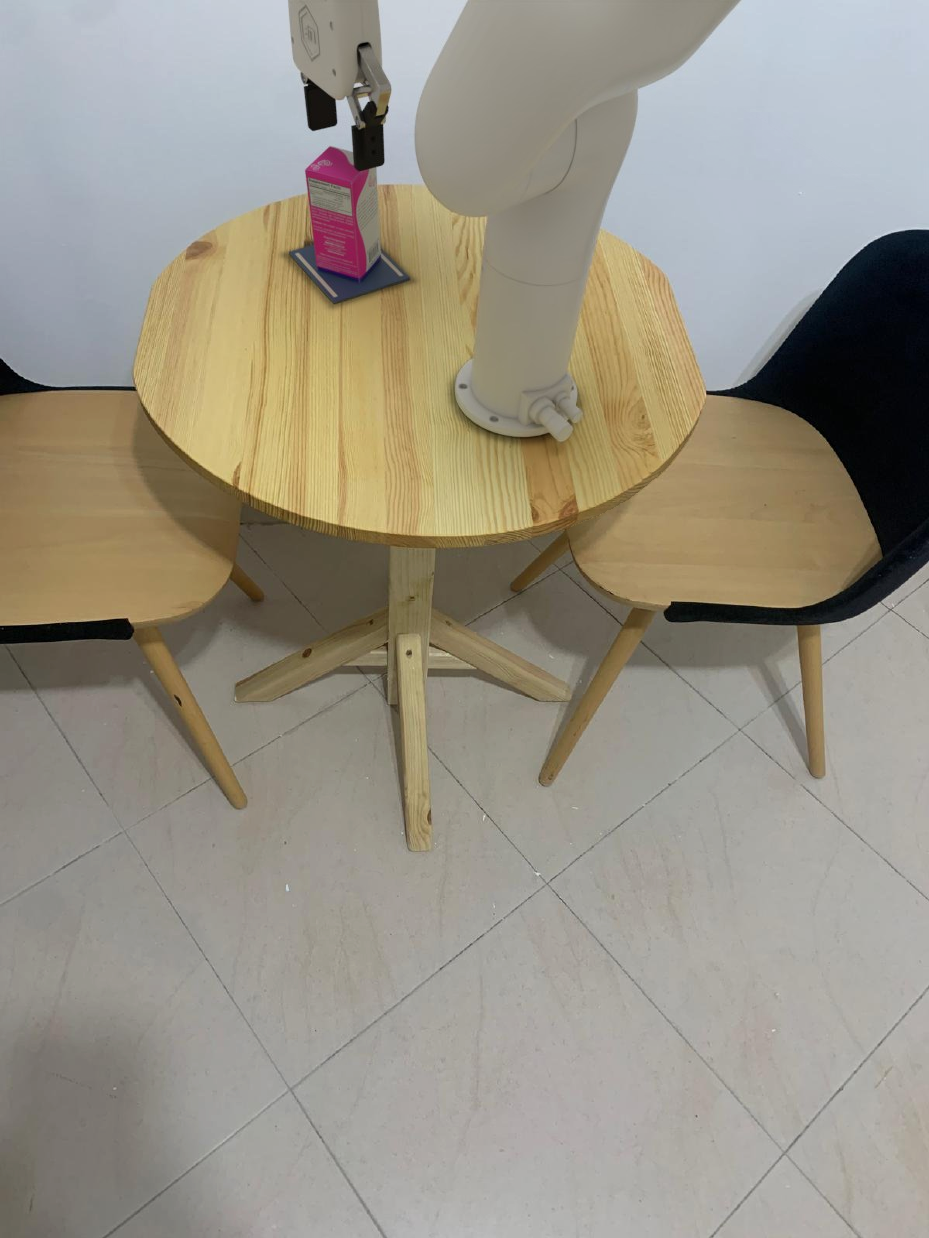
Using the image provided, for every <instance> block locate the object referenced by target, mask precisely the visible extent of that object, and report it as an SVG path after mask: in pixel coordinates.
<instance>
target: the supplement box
mask: <svg viewBox="0 0 929 1238" xmlns="http://www.w3.org/2000/svg"><path fill="white" fill-rule="evenodd" d="M377 172H378V171H377V167H375V168H371V169H368V170H364V171H357V170H356V169H355V168H354V160H353V151H350V150H347V149H344V148H341V147H336V146H332V145H329V146H328V147H327V148H326V149H325V150H324V151H323V152H322V153H321V154H320V155H318V156H317V158H316V159H315V160H313V161H312V163H310V164H309V165H308V166H306V168H305V169H304V174H305V181H306V191H307V197H308V207H309V212H310V223H311V230H312V238H313V245H314V247H315V255H316V263H317V269H318V270H321V271H324V272H327V273H330V274H334V275H337V276H340V277H343V278H346V279H349V280H353V281H355V282H358V283H360V282H361V281H362V280H363V279H364V278H365V277H366V276H367V274H368V273H369V272H370V271H371V270H372V269H373V267H374V266H375V265H376V264H377V263H378V261H379V260H380V259H381V249H382V248H381V233H380V211H379V210H380V209H379V192H378V191H379V190H378V189H379V188H378V175H377Z"/></svg>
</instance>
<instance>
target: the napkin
mask: <svg viewBox="0 0 929 1238" xmlns="http://www.w3.org/2000/svg"><path fill="white" fill-rule="evenodd" d="M288 255H289V256H290V257H291V258H292V260H293V261H295V263H296V264H297V265H298V267H300V268H301V269H302V270H303V271H304V273H305V274H306V275H307V276H308V277H309V279H311V281H312V282H313V283H314V284H315V285H316V286H317V287H318V288H319V289H320V291H321V292H322V293H323V294H324V296H326V298H328V299H329V301H330V302H331V303H332V304H333V305H335V304H338V303H342V302H345V301H348V300H351V299H355V298H358V297H361V296H364V295H367V294H371V293H373V292H376V291H379V290H383V289H386V288H389V287H391V286H394V285H398V284H401V283H404V282H407V281H410V280H411V276H409V275H408V274H407V273H406V272H405V271H404V270H403V269H402V268H401V267H400V266H399V265H398V264H397V263H396V262H395V261H394V260H393V258H391V257H390V255H388V254H387V253H386V252H385V250H383V249H382V248H381V259H380V260H379V261H378V263H377V264H376V265H375V266H374V267H373V269H372V270H371V271H370V272H369V273H368V274H367V276H366V277H365V278H364V279H363V280H362V281H361V282H360V283H358V282H355V281H353V280H349V279H346V278H343V277H340V276H337V275H334V274H330V273H327V272H324V271H321V270H318V269H317V263H316V255H315V247H314V244H311V245H307V246H304V247H301V248H296V249H294V250H290V251H288Z"/></svg>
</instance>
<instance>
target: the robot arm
mask: <svg viewBox="0 0 929 1238" xmlns="http://www.w3.org/2000/svg"><path fill="white" fill-rule="evenodd" d="M741 1H742V0H467V1H466V3H465V4H464V7H463V9H462V10H461V13H460V15H459V16H458V19H457V20H456V22H455V24H454V26H453V28H452V30H451V32H450V33H449V35H448V37H447V39H446V41H445V43H444V45H443V46H442V49H441V51H440V53H439V55H438V57H437V59H436V60H435V62H434V65H433V66H432V68H431V70H430V72H429V74H428V77H427V78H426V81H425V83H424V86H423V88H422V90H421V93H420V97H419V101H418V103H417V110H416V114H415V119H414V120H415V121H414V123H415V124H414V133H413V134H414V137H413V138H414V150H415V157H416V163H417V167H418V170H419V173H420V176H421V178H422V181H423V183H424V185H425V186H426V188H427V190H428V191H429V193H430V194H431V196H432V197H433V198H434V199H435V200H436V201H437V202H438V203H439V204H440V205H441V206H443V208H445V209H447V210H449V211H450V212H452V213H454V214H457V215H460V216H462V217H466V218H485V217H487V218H486V223H485V228H484V237H483V245H482V254H481V264H480V275H479V286H478V296H477V297H478V298H477V310H476V319H475V320H476V321H475V330H474V341H473V351H472V357H471V358H470V359H469V360H467V361H466V362H465V363H464V364H463V365H462V366H461V367H460V369H459V371H458V372H457V374H456V377H455V381H454V382H455V383H454V396H455V400H456V402H457V405H458V407H459V408H460V410H461V411H462V412H463V414H464V415H465V416H466V417H467V418H468V419H470V421H471V422H473V423H474V424H476V425H477V426H479V427H481V428H483V429H485V430H487V431H490V432H492V433H495V434H499V435H502V436H506V437H514V438H515V437H516V438H530V437H536V436H537V437H538V436H541V435H545V434H549V435H551V436H552V437H553V438H554V439H555V440H556V441H557V442H559V443H562V442H565V441H566V440H568V439H569V438H570V437H571V435H572V434H573V431H574V427H573V425H571V424H570V422H569V421H571V422H572V423H573V424H578V423H579V422H581V420H582V419H583V417H584V412H583V411H582V410H581V408H580V407H578V406H577V402H578V387H577V384H576V381H575V380H574V378H573V376H572V375H571V373H569V366H570V363H571V358H572V353H573V349H574V345H575V339H576V336H577V331H578V327H579V326H578V325H579V322H580V316H581V312H582V308H583V303H584V298H585V293H586V289H587V285H588V281H589V276H590V271H591V267H592V264H593V261H594V260H593V259H594V257H595V252H596V251H595V250H596V246H597V242H598V237H599V234H600V229H601V225H602V223H603V219H604V215H605V211H606V208H607V205H608V201H609V199H610V197H611V194H612V191H613V189H614V186H615V183H616V180H617V178H618V176H619V174H620V171H621V169H622V166H623V164H624V161H625V159H626V156H627V154H628V151H629V148H630V145H631V141H632V139H633V134H634V131H635V126H636V121H637V116H638V108H639V89H642V88H645V87H647V86H649V85H652V84H654V83H656V82H659V81H660V80H663V79H665V78H666V77H668V76H671V74H673V73H674V72H676V71H677V70H679V69H680V68H681V67H682V66H683V65H685V64H686V63H687V61H689V60H690V59H691V57H693V55H694V54H695V53H696V52H697V51H698V50H699V49H700V48H701V47H702V45H704V43H705V42H706V41H707V39H708V38H709V37H710V36H711V35H712V34H713V32H714V31H716V29H717V28H718V27H719V26H720V25H721V24H722V23H723V22H724V20H725V19H726V18H727V16H728V15H729V14H731V12H732V11H733V10H734V9H735V8H736V7H737V5H738V4H740V2H741ZM287 4H288V6H287V7H288V21H289V31H290V43H291V52H292V59H293V62H294V64H295V66H296V69H298V71H300V79H301V80H300V81H301V82H302V84H303V92H304V95H303V96H304V104H305V113H306V119H307V120H306V122H307V128H308V129H309V130H310V131H312V132H316V131H320V130H324V129H328V128H333V127H336V126H338V125H337V124H338V112H337V111H338V109H337V101H343V100H344V99H345V97H346V100H347V103H348V106H349V109H350V112H351V115H352V118H353V122H354V124H353V125H350V126H351V144H352V152H353V160H354V168H355V169H356V170H357V171H364V170H368V169H371V168H375V167H376V168H379V167H382V166H383V165H384V164H385V136H384V135H385V134H384V132H385V131H384V124H386V123H387V115H388V113H389V109H390V107H389V103H390V99H391V95H392V85H391V82H390V80H389V78H388V76H387V74H386V73H385V71H384V69H383V47H382V33H381V21H380V19H381V18H380V9H379V0H287ZM355 84H360V86H356V87H355ZM367 97H368V99H369V101H367V102H366V104H365V106H364V107H363V109H362V106H361V103H360V101H359V99H362V98H363V99H364V98H367Z"/></svg>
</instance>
